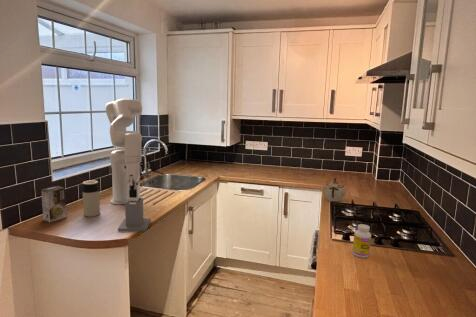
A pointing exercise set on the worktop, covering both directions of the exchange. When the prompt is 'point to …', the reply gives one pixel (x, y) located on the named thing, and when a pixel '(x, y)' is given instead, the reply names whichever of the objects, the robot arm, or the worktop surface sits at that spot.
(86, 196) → the travel mug
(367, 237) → the supplement bottle
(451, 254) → the worktop surface
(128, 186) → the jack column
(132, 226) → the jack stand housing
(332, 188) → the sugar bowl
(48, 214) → the coffee box
